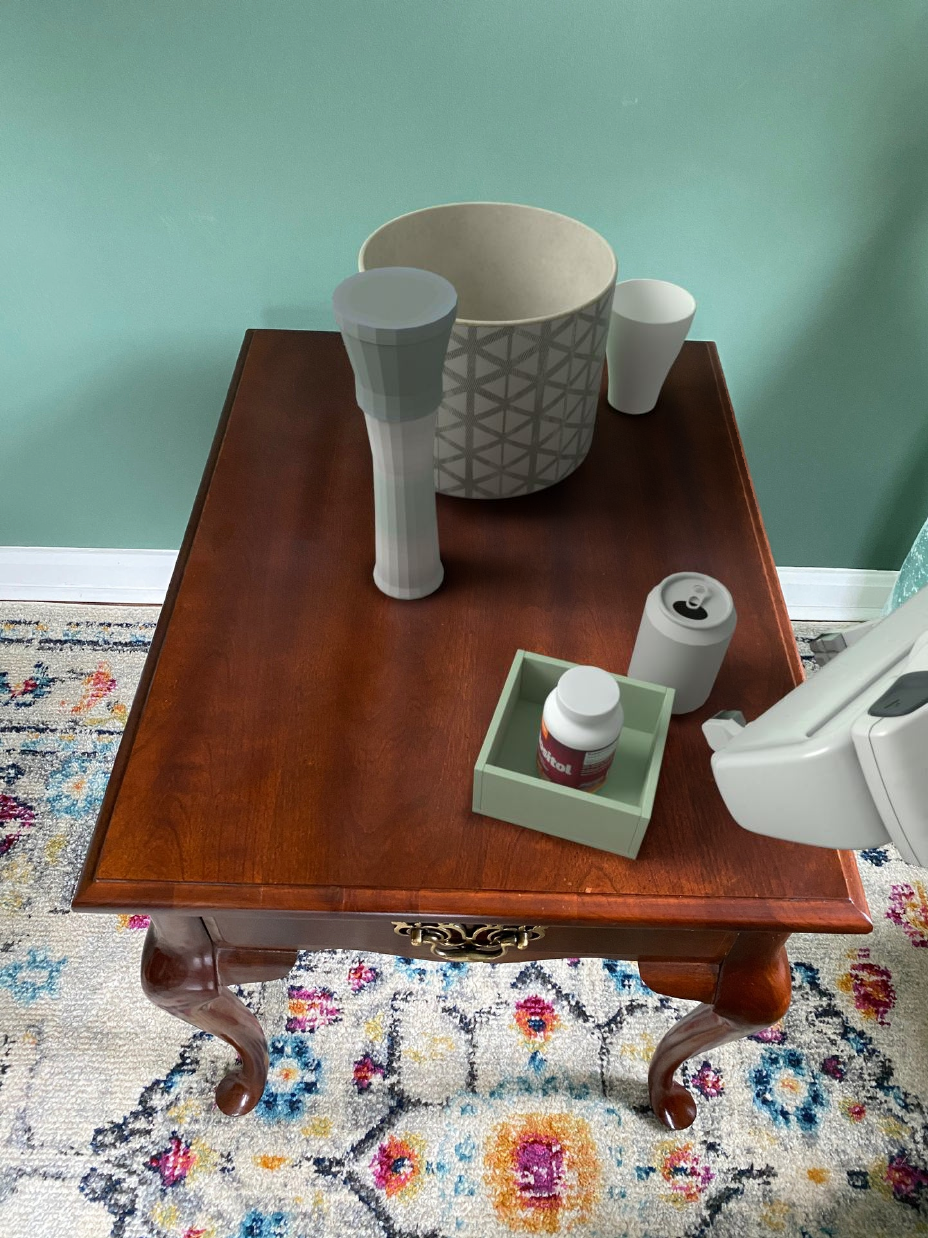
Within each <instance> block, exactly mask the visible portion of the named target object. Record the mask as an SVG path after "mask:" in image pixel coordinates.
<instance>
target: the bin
mask: <svg viewBox="0 0 928 1238" xmlns="http://www.w3.org/2000/svg"><path fill="white" fill-rule="evenodd" d="M579 666H584V665H582V664H580V663H575V662H570V661H567V660H564V659H559V658H555V657H551V656H547V655H543V654H539V653H536V652H531V651H527V650H524V649H520V648H518V649H517V651H516V653H515V656H514V658H513V661H512V664H511V667H510V670H509V673H508V675H507V678H506V681H505V684H504V687H503V689H502V691H501V694H500V697H499V700H498V702H497V704H496V708H495V710H494V713H493V717H492V719H491V722H490V723H489V727H488V730H487V733H486V735H485V737H484V741H483V744H482V747H481V749H480V752H479V754H478V757H477V760H476V763H475V765H474V767H473V768H474V770H473V790H472V794H473V795H472V813H473V812H474V813H476V814H480V815H483V816H487V817H490V818H494V819H496V820H500V821H503V822H508V823H510V824H513V825H517V826H521V827H523V828H527V829H530V830H534V831H537V832H540V833H544V834H547V835H550V836H554V837H557V838H559V839H560V838H561V839H563V840H567V841H570V842H574V843H577V844H580V845H584V846H588V847H590V848H594V849H597V850H601V851H604V852H607V853H611V854H615V855H618V856H621V857H624V858H628V859H632V860H636V858H637V857H638V854H639V851H640V848H641V845H642V843H643V840H644V837H645V836H646V835H645V834H646V832H647V829H648V826H649V824H650V821H651V818H652V813H653V807H654V802H655V797H656V792H657V787H658V782H659V778H660V771H661V767H662V761H663V757H664V751H665V746H666V741H667V736H668V732H669V727H670V720H671V716H672V714H671V711H672V706H673V701H674V696H675V691H676V690H675V689H673V688H669V687H668V688H667V687H665V686H661V685H657V684H653V683H649V682H645V681H641V680H637V679H633V678H630V677H628V676H626V675H621V674H619V673H618V674H617V673H613V672H609V671H607V672H608V673H609V674H610V675H611V676H613V678H614V679H615V680H616V681H617V683H618V686H619V689H620V699H619V701H620V703H621V706H622V709H623V714H624V720H623V726H622V730H621V733H620V737H619V741H618V744H617V748H616V751H615V754H614V758H613V762H612V765H611V769H610V772H609V775H608V778H607V780H606V782H605V783H604V784H603V786H602V787H601V788H600V789H599V790H597V791H596V792H594V793H592V794H590V793H587V792H583V791H580V790H576V789H573V788H569V787H566V786H562V785H559V784H555V783H552V782H548V781H545V780H542V779H541V777H540V775H539V773H538V770H537V766H536V756H537V750H538V743H539V736H540V730H541V723H542V717H543V711H544V705H545V702H546V699H547V697H548V696H549V694H550V693H551V692H552V691H553V690H554V689H555V688H556V687H557V686H558V682H559V680H560V678H561V677H562V675H563V674H564V673H565V672H567V671H568V670H570V669H572V668H575V667H579Z"/></svg>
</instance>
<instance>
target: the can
mask: <svg viewBox="0 0 928 1238" xmlns="http://www.w3.org/2000/svg"><path fill="white" fill-rule="evenodd" d="M737 621H738V615H737V610H736V607H735V603H734V599H733V596H732V594H731V592H730V591H729V589H728V588H727V587H726V585H724V584H723V583H722V582H721V581H719V580H717V579H715V578H714V577H711V576H709V575H708V574H703V573H699V572H695V571H682V572H681V571H680V572H677V573H672V574H670V575H669V576H667V577H665V578H664V579H662V581H661V582H660V583H658V584H657V585H656V586H654V587H653V588H652V590H651V591H650V592H649V594H647V597H646V602H645V604H644V609H643V613H642V617H641V621H640V624H639V628H638V632H637V636H636V640H635V644H634V646H633V647H634V648H633V652H632V655H631V659H630V662H629V667H628V670H627V674H626V675H627V677H630V678H633V679H637V680H641V681H645V682H649V683H653V684H657V685H661V686H665V687H667V688H668V687H669V688H673V689H675V690H676V691H675V696H674V701H673V706H672V711H671V715H684V714H687V713H691V712H694V711H696V710H697V709H699V708H700V707H702V706H703V705H704V704H705V703H706V701H707V700H708V698H709V697H710V694H711V692H712V689H713V687H714V685H715V681H716V679H717V676H718V673H719V671H720V668H721V666H722V664H723V661H724V658H725V656H726V653H727V650H728V648H729V647H730V643H731V641H732V638H733V636H734V633H735V630H736V627H737V623H738V622H737Z"/></svg>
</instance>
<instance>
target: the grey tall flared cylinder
mask: <svg viewBox="0 0 928 1238" xmlns="http://www.w3.org/2000/svg"><path fill="white" fill-rule="evenodd" d="M457 301H458V295H457V293H456V291H455V288H454V286H453V285H452V284H451V283H449V282H448V281H447V280H446V279H445V278H443V277H441V276H439V275H437V274H434V273H432V272H430V271H425V270H421V269H416V268H409V267H385V268H375V269H371V270H367V271H364V272H360V273H359V272H357V273H355V274H352V275H350V276H349V277H347V278H344V280H343V281H341V282H340V283H339V284H338V285H337V286H336V287H335V288H334V291H333V292H332V296H331V304H332V312H333V318H334V321H335V324H336V326H337V327H338V329H339V331H340V334H341V339H342V341H343V344H344V346H345V350H346V353H347V355H348V358H349V362H350V365H351V367H352V370H353V374H354V383H355V384H354V385H355V398H356V403H357V406H358V407H359V408H360V409H361V410H362V412H363V414H364V419H365V424H366V428H367V435H368V440H369V444H370V451H371V454H372V465H373V466H372V468H373V489H374V490H373V491H374V516H375V517H374V518H375V519H374V521H375V526H374V527H375V565H374V567H373V572H372V575H373V579H374V584H375V585H376V587H377V588H378V589H379V591H381V592H382V593H383V594H385V595H387V596H388V597H392V598H395V599H397V600H407V601H408V600H409V601H410V600H411V601H413V600H417V599H422V598H425V597H427V596H429V595H432V593H434V592H435V591H436V590H437V589H439V588H440V586H441V584H442V582H443V580H444V573H445V571H444V570H445V569H444V566H443V564H442V563H443V562H441V553H440V541H439V530H438V518H437V505H436V503H437V502H436V492H435V483H434V465H433V450H434V440H435V429H436V419H437V409H438V407H439V406H440V404H441V403H442V398H443V378H442V371H443V366H444V362H445V357H446V353H447V348H448V344H449V339H450V335H451V331H452V326H453V323H454V322H455V321H456V316H457Z"/></svg>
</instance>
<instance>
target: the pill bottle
mask: <svg viewBox="0 0 928 1238" xmlns="http://www.w3.org/2000/svg"><path fill="white" fill-rule="evenodd" d="M608 672H609V671H606V670H605V669H602V668H600V667H597V666H592V665H583V666H579V667H575V668H572V669H570V670H568V671H567V672H565V673H564V674H563V675H562V677H561V678H560V680H559V682H558V686H557V687H556V688H555V689H554V690H553V691H552V692H551V693H550V694H549V696H548V697H547V699H546V702H545V705H544V711H543V717H542V723H541V730H540V736H539V743H538V750H537V756H536V766H537V770H538V773H539V775H540V777H541V779H542V780H545V781H548V782H552V783H555V784H559V785H562V786H566V787H569V788H573V789H576V790H580V791H583V792H587V793H590V794H592V793H594V792H596V791H597V790H599V789H600V788H601V787H602V786H603V784H604V783H605V782H606V780H607V778H608V775H609V772H610V769H611V765H612V762H613V758H614V754H615V751H616V748H617V744H618V741H619V737H620V733H621V730H622V726H623V720H624V714H623V709H622V706H621V703H620V701H619V699H620V689H619V686H618V683H617V681H616V680H615V679H614V678H613V676H611V675H610V674H609V673H608Z"/></svg>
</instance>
